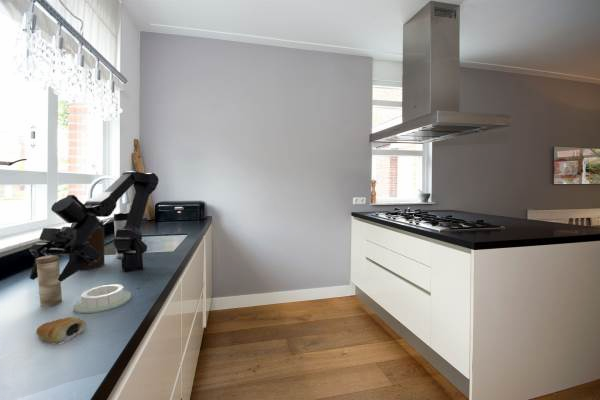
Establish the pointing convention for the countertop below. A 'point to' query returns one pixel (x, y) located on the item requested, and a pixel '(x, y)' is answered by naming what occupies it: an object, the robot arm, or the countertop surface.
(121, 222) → the travel mug
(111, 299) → the holder
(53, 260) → the canister
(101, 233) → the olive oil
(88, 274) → the countertop surface
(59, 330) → the pastry
